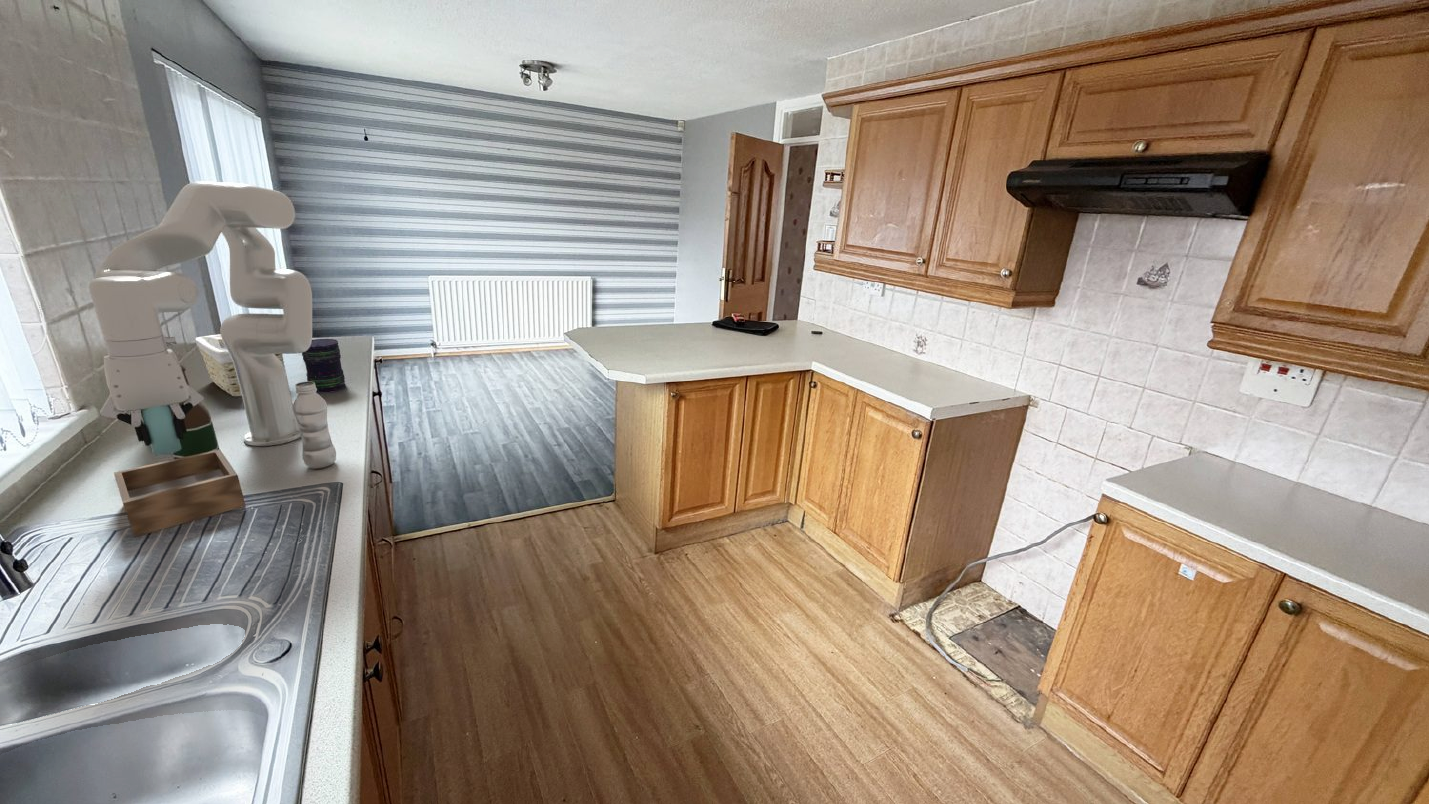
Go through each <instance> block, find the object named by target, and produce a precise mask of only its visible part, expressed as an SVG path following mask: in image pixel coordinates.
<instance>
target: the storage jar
mask: <svg viewBox="0 0 1429 804" xmlns="http://www.w3.org/2000/svg"><path fill="white" fill-rule="evenodd" d="M301 356H302V360H303V363H304V365H305V369H306V381H312V382H315V386H316V388H317V391H316V393H317V394H327V393H328V394H329V393H335V392H338V391H342V390H344V389H345V388H346V387H347V384H346V380H345V379H346V377H345V374H344V370H343V367H342V362H341V359H342V357H341V350H340V346H339V340H337V339H334V338H316V339H312V341H311V345H310V347H309V349H308V350H307V351H305V352H303V353H301Z"/></svg>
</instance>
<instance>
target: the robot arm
mask: <svg viewBox="0 0 1429 804" xmlns="http://www.w3.org/2000/svg"><path fill="white" fill-rule="evenodd" d="M295 219H296V210H295V207H294V204H293V202H292V201H291V199H290V198H289V197H288V196H287V195H286V194H285V193H284V192H281V191H278V190H276V189H275V190H274V189H270V188H265V187H262V186H261V187H260V186H256V185H250V184H245V183H236V182H217V181H193V182H191V183H188V184H186V185H184V186H183V187H182V189H180V191H179V193H178V194H177V196H176V197H175V199H174V201H173V202H172V204H171V206H170V207H169V209H168V210H167V212H166V214H165V215H164V216H163V218H162V220H161V222H159V223H160V224H159V225H158V226H156V227H153V228H151V229H148V230H147V231H144V232H142V233H140V234H138V235H136V236H134V237H132V238H131V239H128V240H126V241H124V242H122V243H121V244H119V245H118V246H116V247H114V248H113V249H112V250H111V251H110V252H109V253H107V255H106V256H105V257H104V259H103V261H102V262H101V263H100V265H99V266H98V268H97V270H96V272H95V274H94V275H93V278H92V279H91V280H90V281H89V284H88V290H89V295H90V298H91V300H92V304H93V307H94V310H95V314H96V318H97V320H98V324H99V326H100V330H101V334H102V336H103V340H104V343H105V346H106V349H107V353H108V354H107V355H105V356H103V370H104V376H105V379H106V385H107V388H108V392H109V396H108V397H107V399H106V400H105V402H104V404H103V405H102V407H101V409H100V410H99V411H100V415H101V416H102V417H106V418H110V419H116V420H119V421H121V422H124V423H126V424H128V425H131V426H132V427H134V431H135V433H136V436H137V440H138V442H144V444H145V446H146V447H149V446H150V447H151V442H150V439H149V435H148V432H147V429H146V426H145V424H144V422H143V419H142V415H141V410H143V409H147V408H150V407H154V406H168V405H170V407H171V408H172V410H173V412H174V414H173V420H174V424H175V428H176V431H177V435H178V438H179V439H184V436H183V433H187V430H186V426H185V422H184V419H183V418H185V415H186V414H187V413H188V412H189V411H190V410H191V409H192V408H193V406H195V405H197V404H198V403H199V402H200V403H201V402H202V401H203V400H204V399H205V398H204V396H203V395H202V394H200V393H199V392H198V391H197V390H195V389H194V388H192V387H191V386H190V385H189V386H188V385H187V384H186V381H185V378H184V375H183V372H182V369H181V367H180V365H181V364H180V363H179V360H178V358H177V356H176V354H175V352H174V351H173V350H172V348H171V349H170V348H168V347H170V346H172V345H177V339H176V336H166V335H164V333H163V328H162V326H161V322H160V317H159V314H163V313H177V312H183V311H186V310H189V309H191V308H192V307H193V306H194V305H195V304H196V303H197V301H198V299H199V289H198V286H197V284H196V283H195V282H194V281H193V280H192V278H190V277H188V276H187V275H185V274H182V273H178V272H175V271H164V270H163V271H161V270H159V269H163V268H165V267H169V266H173V265H176V264H177V265H178V264H181V263H186V262H190V261H192V260H193V261H194V260H196V259H199V258H202V257H204V256H207V255H209V254H210V253H211V251H212V250H213V248H214V247H215V245H216V243H217V241H218V239H219V238H220V235H222V236H223V237H224V239H225V241H226V243H227V246H228V250H229V292H230V297H231V300H232V301H233V303H235V304H236V305H237V306H239V307H242V308H247V309H257V310H259V309H262V310H265V309H266V310H271V309H272V310H282V313H251V312H250V313H248V312H247V313H238V314H233V315H230V316H228V317H227V318H225V319H224V320H223V321H222V323H221V325H220V329H219V330H220V332H219V333H220V334H221V337H222V340H223V342H224V343H223V344H224V346H225V348H227V350H228V352H229V354H230V356H231V359H232V361H233V364H234V367H235V371H236V375H237V379H238V383H239V387H240V391H241V395H242V396H241V398H242V403H243V407H244V410H245V415H246V418H247V423H248V427H249V430H250V431H249V432H247V433H246V434H244V436H243V440H244V443H245V444H246V445H250V446H252V447H253V446H254V447H267V446H268V447H269V446H277V445H283V444H286V443H289V442H290V443H291V442H292V441H293V442H294V441H295V440H297V439H300V438H302V437H301V433H300V429H299V425H298V422H297V420H296V417H295V415H294V412H293V409H292V408H293V403H294V402H293V398H292V394H291V390H290V385H289V380H288V375H287V370H286V366H285V367H284V365H285V364H284V365H283V364H282V362H281V361H280V360H279V359H278V358H277V357H276V356H275V355H274V354H282V355H283V354H285V355H286V354H287V355H290V354H296V355H297V354H302V353H303V352H305V351H307V350H308V349H309V347H310V345H311V341H312V340H313V291H312V287H311V284H310V281H309V279H308V278H307V277H306V275H305V274H303V273H302V272H300V271H299V270H294V269H287V268H286V269H285V268H284V269H283V268H282V269H281V268H279V269H278V268H276V251H275V249H274V247H273V245H272V244H271V242H270V241H269V239H267V238H266V237H265V236H264V235H263V234H262V232H260V231H259V229H277V230H278V229H280V230H284V229H287V228H289V227H291V226H292V224H293V223H294V221H295ZM156 270H157V271H156ZM190 396H191V398H190V399H189V397H190ZM188 399H189V400H188ZM187 400H188V401H187ZM185 401H186V402H185ZM183 402H184V403H183ZM179 403H183V404H182V405H181V406H179ZM127 412H129V414H128V413H127Z"/></svg>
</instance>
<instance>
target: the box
mask: <svg viewBox="0 0 1429 804" xmlns="http://www.w3.org/2000/svg"><path fill="white" fill-rule="evenodd" d="M113 475H114V478H115V481H116V484H117V485H116V486H117V488H118V493H119V495H120V498H121V501H122V504H123V507H124V511H125V513H126V516H127V519H128V523H129V525H130V528H131V531H132V534H133V537H134V538H136V537H141V536H144V535H147V534H150V533H155V532H158V531H161V530H164V529H168V528H172V527H176V526H179V525H182V524H186V523H189V522H193V521H198V520H200V519H204V518H207V517H211V516H215V515H218V514H221V513H222V514H223V513H225V512H228V511H232V510H236V509H238V507H240V508H242V507H241V506H243V507H245V506H244V505H246V501H245V497H244V495H243V494H244V493H243V490H242V487H241V482H240V478H239V476H238V473H237V472H236V470H235V469H234V467H233V466H232V465H231V463H230V461H228V458H227V457H226V456H225V454H224V453H223V452H222V450H221V449H220V448H219V450H215V451H210V452H206V453H201V454H197V455H192V456H187V457H183V458H178V459H174V458H173V459H170V460H166V461H160V462H155V463H151V464H146V465H143V466H138V467H132V468H129V469H124V470H120V471H119V470H118V471H115V472H113Z"/></svg>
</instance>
